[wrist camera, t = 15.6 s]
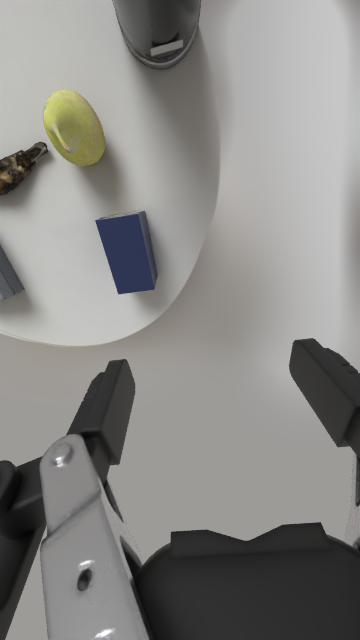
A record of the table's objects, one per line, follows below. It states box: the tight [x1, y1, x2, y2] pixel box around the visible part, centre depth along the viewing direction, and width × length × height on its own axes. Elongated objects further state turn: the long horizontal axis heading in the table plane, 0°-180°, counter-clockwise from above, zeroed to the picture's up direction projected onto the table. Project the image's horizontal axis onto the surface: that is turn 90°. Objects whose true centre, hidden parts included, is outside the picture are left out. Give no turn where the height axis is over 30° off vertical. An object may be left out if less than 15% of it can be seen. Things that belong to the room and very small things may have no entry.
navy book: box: [95, 213, 156, 294], centre depth 31 cm, size 6×11×2 cm, turn 8°
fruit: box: [43, 89, 105, 166], centre depth 24 cm, size 7×8×12 cm
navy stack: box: [100, 211, 158, 284], centre depth 34 cm, size 6×11×4 cm, turn 8°
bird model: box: [0, 142, 48, 195], centre depth 29 cm, size 3×14×3 cm, turn 114°
